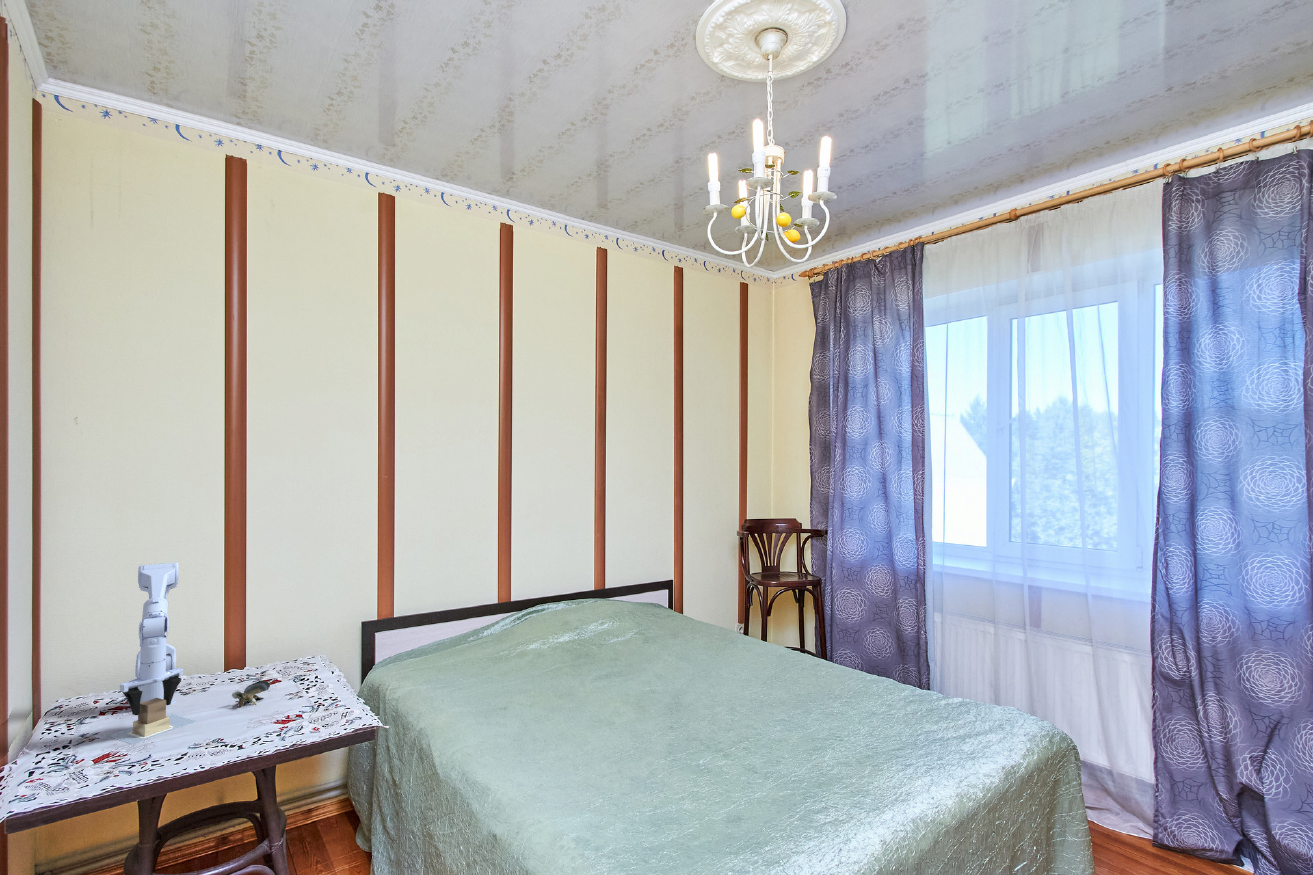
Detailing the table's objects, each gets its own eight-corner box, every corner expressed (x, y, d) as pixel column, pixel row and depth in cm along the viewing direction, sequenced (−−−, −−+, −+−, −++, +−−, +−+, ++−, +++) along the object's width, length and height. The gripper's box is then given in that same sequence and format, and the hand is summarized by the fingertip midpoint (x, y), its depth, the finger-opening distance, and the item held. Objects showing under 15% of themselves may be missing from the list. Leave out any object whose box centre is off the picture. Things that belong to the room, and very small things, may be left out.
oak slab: (132, 732, 173) (132, 721, 173) (157, 724, 178) (157, 713, 178) (144, 736, 170) (145, 725, 170) (169, 727, 176) (169, 717, 176)
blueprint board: (107, 737, 171) (107, 735, 171) (172, 715, 185) (172, 713, 185) (131, 745, 166) (131, 743, 166) (196, 722, 180) (196, 720, 180)
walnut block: (137, 721, 173) (138, 703, 173) (156, 715, 177) (156, 697, 177) (147, 724, 171) (147, 705, 171) (165, 717, 175) (166, 700, 176)
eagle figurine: (255, 705, 190) (276, 689, 199) (241, 687, 189) (262, 671, 198) (237, 717, 191) (259, 700, 200) (223, 699, 190) (245, 683, 199)
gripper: (130, 670, 167) (129, 721, 166) (189, 654, 180) (188, 702, 179) (116, 666, 170) (114, 717, 169) (175, 651, 183) (174, 698, 182)
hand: (151, 709), depth 174 cm, fingers open, 7 cm apart
